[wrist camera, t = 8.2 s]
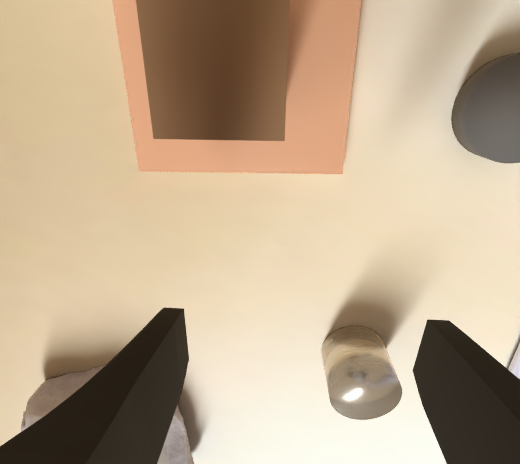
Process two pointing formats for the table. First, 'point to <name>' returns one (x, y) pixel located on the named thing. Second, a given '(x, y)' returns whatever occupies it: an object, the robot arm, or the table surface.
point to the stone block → (60, 388)
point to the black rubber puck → (490, 111)
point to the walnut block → (216, 68)
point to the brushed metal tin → (359, 373)
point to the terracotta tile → (297, 99)
